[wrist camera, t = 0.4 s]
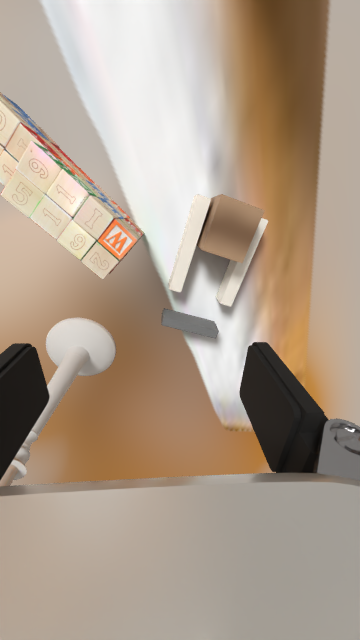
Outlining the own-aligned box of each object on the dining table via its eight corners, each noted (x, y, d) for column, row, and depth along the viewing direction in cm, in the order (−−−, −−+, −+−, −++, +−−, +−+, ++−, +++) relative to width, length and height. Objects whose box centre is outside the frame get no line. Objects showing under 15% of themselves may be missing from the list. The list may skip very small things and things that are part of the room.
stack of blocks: (-8, 146, 29) (-113, 103, 18) (17, 103, 28) (-82, 27, 16) (120, 261, 37) (102, 281, 25) (146, 233, 35) (138, 240, 24)
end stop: (163, 308, 40) (163, 317, 37) (214, 321, 42) (218, 331, 39) (161, 315, 41) (161, 325, 37) (211, 328, 43) (215, 338, 39)
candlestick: (33, 329, 40) (-229, 557, 13) (98, 309, 40) (-41, 508, 13) (68, 380, 46) (-68, 617, 19) (126, 363, 45) (70, 585, 18)
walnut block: (210, 198, 33) (221, 194, 27) (246, 211, 35) (264, 210, 28) (195, 244, 36) (202, 250, 30) (228, 255, 37) (242, 263, 31)
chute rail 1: (194, 196, 33) (197, 194, 30) (206, 200, 33) (211, 199, 30) (168, 283, 38) (168, 289, 35) (179, 286, 39) (180, 292, 36)
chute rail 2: (247, 216, 35) (256, 215, 32) (258, 220, 35) (268, 220, 32) (215, 296, 40) (220, 303, 37) (225, 299, 41) (231, 306, 37)
